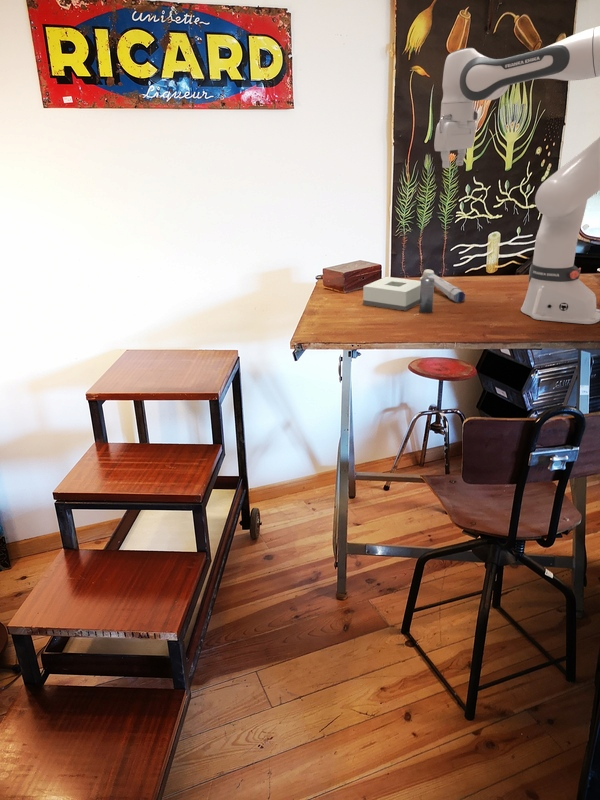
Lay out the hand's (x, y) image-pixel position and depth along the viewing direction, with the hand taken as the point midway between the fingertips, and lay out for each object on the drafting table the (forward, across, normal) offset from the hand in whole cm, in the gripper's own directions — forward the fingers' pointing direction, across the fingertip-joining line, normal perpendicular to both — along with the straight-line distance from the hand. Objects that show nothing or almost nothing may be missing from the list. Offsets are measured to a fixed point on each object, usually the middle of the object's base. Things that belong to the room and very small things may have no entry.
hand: (452, 166), depth 176 cm
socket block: (+41, -8, +13) cm, 44 cm away
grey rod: (+41, +9, +5) cm, 43 cm away
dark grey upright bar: (+41, -13, 0) cm, 43 cm away
